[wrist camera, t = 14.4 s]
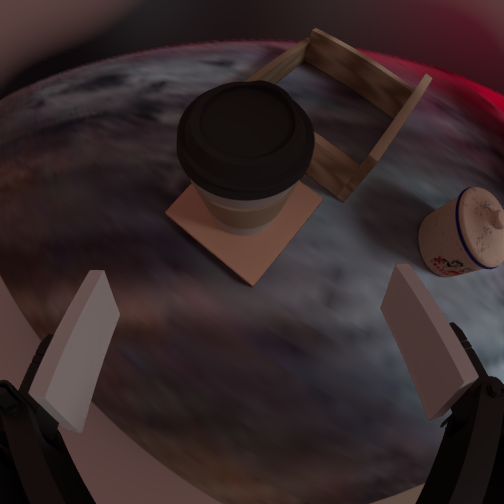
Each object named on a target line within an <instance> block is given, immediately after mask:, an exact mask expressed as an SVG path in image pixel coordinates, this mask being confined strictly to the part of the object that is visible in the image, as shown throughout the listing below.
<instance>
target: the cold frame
mask: <svg viewBox="0 0 504 504" xmlns="http://www.w3.org/2000/svg"><path fill="white" fill-rule="evenodd" d="M305 61H306V62H307V63H309V64H311V65H313V66H315V67H316V68H318V69H320V70H322V71H323V72H325V73H327V74H328V75H330V76H332V77H333V78H335V79H337V80H338V81H340V82H341V83H343V84H344V85H346V86H348V87H349V88H351V89H352V90H354V91H355V92H357V93H358V94H360V95H361V96H363V97H364V98H365V99H367V100H368V101H370V102H371V103H373V104H374V105H375V106H377V107H378V108H379V109H381V110H382V111H383V112H385V113H386V114H387V115H389V116H390V117H391V118H393V119H394V120H393V121H392V123H391V124H390V126H389V127H388V128H387V130H386V131H385V133H384V134H383V135H382V137H381V138H380V139H379V141H378V142H377V144H376V145H375V146H374V148H373V149H372V150H371V152H370V153H369V154H368V156H367V157H366V159H365V160H364V161H363V163H362V164H361V165H359V164H358V163H356V162H355V161H354V160H352V159H351V158H350V157H348V156H347V155H346V154H345V153H343V152H342V151H341V150H339V149H338V148H336V147H335V146H334V145H332V144H331V143H330V142H328V141H327V140H325V139H324V138H323V137H321V136H320V135H318V134H317V133H315V132H314V135H315V146H314V151H313V156H312V159H311V162H310V165H309V167H308V169H307V170H306V172H305V173H306V174H307V175H308V176H310V177H311V178H312V179H314V180H315V181H316V182H318V183H319V184H320V185H322V186H323V187H324V188H325V189H327V190H328V191H329V192H331V193H332V194H333V195H334V196H336V197H337V198H338V199H339V200H341V201H342V202H344V201H345V200H346V199H347V198H348V196H349V195H350V194H351V193H352V192H353V191H354V189H355V188H356V187H357V186H358V185H359V184H360V182H361V181H362V180H363V179H364V178H365V176H366V175H367V174H368V173H369V172H370V170H371V169H372V168H373V167H374V166H375V164H376V163H377V162H378V161H379V159H380V158H381V156H382V155H383V154H384V152H385V151H386V149H387V148H388V146H389V145H390V143H391V142H392V140H393V139H394V137H395V136H396V134H397V133H398V131H399V130H400V128H401V127H402V125H403V124H404V122H405V121H406V119H407V118H408V116H409V115H410V113H411V112H412V110H413V109H414V107H415V106H416V104H417V102H418V101H419V99H420V98H421V96H422V95H423V93H424V91H425V90H426V88H427V87H428V85H429V83H430V82H431V80H432V79H433V78H431V77H430V76H429V75H427V74H425V76H424V77H423V79H422V80H421V82H420V83H419V85H418V86H417V87H416V89H413V88H412V87H411V86H410V85H408V84H407V83H406V82H404V81H403V80H401V79H400V78H399V77H397V76H396V75H394V74H393V73H392V72H390V71H389V70H387V69H386V68H384V67H383V66H381V65H380V64H378V63H377V62H375V61H374V60H372V59H370V58H369V57H367V56H366V55H364V54H362V53H361V52H359V51H357V50H356V49H354V48H352V47H350V46H349V45H347V44H345V43H343V42H342V41H340V40H338V39H336V38H334V37H332V36H330V35H328V34H327V33H325V32H323V31H321V30H318V29H316V28H315V29H314V30H312V34H311V38H310V39H309V38H306V39H304V40H303V41H301V42H299V43H298V44H296V45H295V46H293V47H292V48H290V49H289V50H287V51H286V52H284V53H283V54H281V55H280V56H278V57H277V58H275V59H274V60H273V61H271V62H270V63H268V64H267V65H265V66H264V67H263V68H261V69H260V70H259V71H257V72H256V73H255V74H253V75H252V76H251V77H249V78H248V79H247V80H245V81H244V82H250V81H256V80H263V81H268V82H270V83H273V84H276V83H277V82H278V81H280V80H281V79H282V78H283V77H285V76H286V75H287V74H289V73H290V72H291V71H292V70H294V69H295V68H296V67H298V66H299V65H300V64H302V63H303V62H305Z"/></svg>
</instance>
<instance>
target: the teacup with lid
mask: <svg viewBox="0 0 504 504" xmlns="http://www.w3.org/2000/svg"><path fill="white" fill-rule="evenodd" d="M418 242H419V249H420V252H421V255H422V258H423V260H424V262H425V263H426V265H427V266H428V268H429V269H430V270H431V271H432V272H434V273H435V274H437V275H438V276H441V277H453V276H457V275H461V274H465V273H469V272H473V271H477V270H481V269H493V268H496V267H497V266H499V265H500V264H501V263H502V262H503V260H504V210H503V208H502V207H501V205H500V203H499V202H498V200H497V199H496V198H495V197H494V196H493V195H492V194H491V193H490V192H489V191H487V190H485V189H483V188H480V187H469V188H466V189H465V190H463V191H462V192H461V194H460V195H459V196H458V197H456V198H455V199H453V200H451V201H450V202H448V203H447V204H445V205H443V206H442V207H440V208H438V209H437V210H435V211H434V212H432V213H430V214H429V215H427V216H426V217H425V218H424V220H423V221H422V223H421V226H420V229H419V234H418Z"/></svg>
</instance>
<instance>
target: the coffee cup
mask: <svg viewBox="0 0 504 504" xmlns="http://www.w3.org/2000/svg"><path fill="white" fill-rule="evenodd" d="M314 146H315V135H314V130H313V127H312V124H311V121H310V119H309V118H308V116H307V114H306V113H305V112H304V110H303V109H302V108H301V107H300V106H299V105H298V104H297V103H296V102H295V101H294V100H292V99H291V97H290V96H289V94H288V93H287V92H286V91H285V90H283V89H282V88H280V87H279V86H277V85H275V84H273V83H270V82H268V81H263V80H256V81H250V82H233V83H228V84H224V85H221V86H218V87H216V88H213V89H211V90H209V91H207V92H205V93H203V94H202V95H200V96H199V97H197V98H196V99H195V100H194V101H193V102H192V103H191V104H190V105H189V106H188V107H187V108H186V110H185V111H184V113H183V115H182V117H181V119H180V122H179V125H178V131H177V154H178V158H179V161H180V164H181V166H182V168H183V170H184V171H185V173H186V174H187V175H188V177H189V178H190V180H191V182H192V184H193V186H194V187H195V189H196V191H197V192H198V194H199V196H200V197H201V199H202V201H203V202H204V204H205V206H206V207H207V209H208V210H209V212H210V213H211V214H212V215H213V217H214V219H215V220H216V222H217V223H218V225H219V226H220V227H221V228H223V229H224V230H225V231H227V232H229V233H231V234H234V235H237V236H252V235H256V234H258V233H261V232H262V231H264V230H265V229H266V228H268V227H269V226H270V224H271V223H272V222H273V220H274V218H275V217H276V216H277V215H278V214H279V213H280V212H281V210H282V208H283V207H284V205H285V204H286V202H287V200H288V199H289V197H290V195H291V194H292V192H293V191H294V189H295V187H296V186H297V184H298V182H299V180H300V178H301V177H302V176H303V175H304V173H305V172H306V170H307V169H308V167H309V165H310V162H311V159H312V156H313V151H314Z"/></svg>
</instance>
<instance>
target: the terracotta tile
mask: <svg viewBox="0 0 504 504" xmlns="http://www.w3.org/2000/svg"><path fill="white" fill-rule="evenodd" d="M322 200H323V198H322V197H320V196H319V195H318V194H317V193H315V192H314V191H313V190H311V189H310V188H309V187H307V186H306V185H305V184H304V183H302V182H301V181H300V180H299V182H298V184H297V186H296V187H295V189H294V191H293V192H292V194H291V195H290V197H289V199H288V200H287V202H286V204H285V205H284V207H283V208H282V210H281V212H280V213H279V214H278V215H277V216H276V217H275V218H274V220H273V222H272V223H271V224H270V226H269V227H268V228H266V229H265V230H264V231H262V232H261V233H258V234H256V235H252V236H237V235H234V234H231V233H229V232H227V231H225V230H224V229H223V228H221V227H220V226H219V225H218V223H217V222H216V220H215V219H214V217H213V215H212V214H211V213H210V212H209V210H208V209H207V207H206V206H205V204H204V202H203V201H202V199H201V197H200V196H199V194H198V192H197V191H196V189H195V187H194V186H193V184H191V185H190V186H189V187H188V188H187V189H186V190H185V191H184V192H183V193H182V194H181V195H180V196H179V198H178V199H177V200H176V201H175V202H174V203H173V204H172V205H171V206H170V207H169V208H168V210H167V211H166V212H165V213H166V215H167V216H168V217H169V218H170V219H171V220H172V221H174V222H175V223H176V224H177V225H178V226H179V227H181V228H182V229H183V230H184V231H185V232H187V233H188V234H189V235H190V236H191V237H192V238H194V239H195V240H196V241H197V242H198V243H200V244H201V245H202V246H203V247H204V248H205V249H207V250H208V251H209V252H210V253H211V254H213V255H214V256H215V257H216V258H217V259H219V260H220V261H221V262H222V263H223V264H225V265H226V266H227V267H228V268H230V269H231V270H232V271H233V272H234V273H236V274H237V275H238V276H239V277H240V278H242V279H243V280H244V281H245V282H247V283H248V284H249V285H250V286H251V287H253V286H254V285H255V284H256V283H257V281H258V280H259V279H260V278H261V277H262V275H263V274H264V273H265V272H266V271H267V269H268V268H269V267H270V266H271V264H272V263H273V262H274V261H275V259H276V258H277V257H278V256H279V255H280V253H281V252H282V251H283V250H284V248H285V247H286V246H287V245H288V243H289V242H290V241H291V240H292V238H293V237H294V236H295V235H296V234H297V232H298V231H299V230H300V229H301V227H302V226H303V225H304V224H305V222H306V221H307V220H308V219H309V217H310V216H311V215H312V213H313V212H314V211H315V210H316V208H317V207H318V206H319V205H320V203H321V202H322Z"/></svg>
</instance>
